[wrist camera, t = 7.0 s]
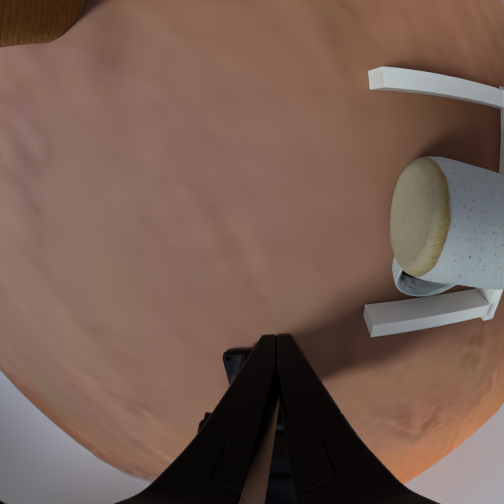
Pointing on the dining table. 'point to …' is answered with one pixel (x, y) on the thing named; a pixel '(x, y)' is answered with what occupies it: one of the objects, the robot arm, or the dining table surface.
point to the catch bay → (486, 300)
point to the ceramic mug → (447, 227)
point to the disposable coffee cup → (36, 20)
